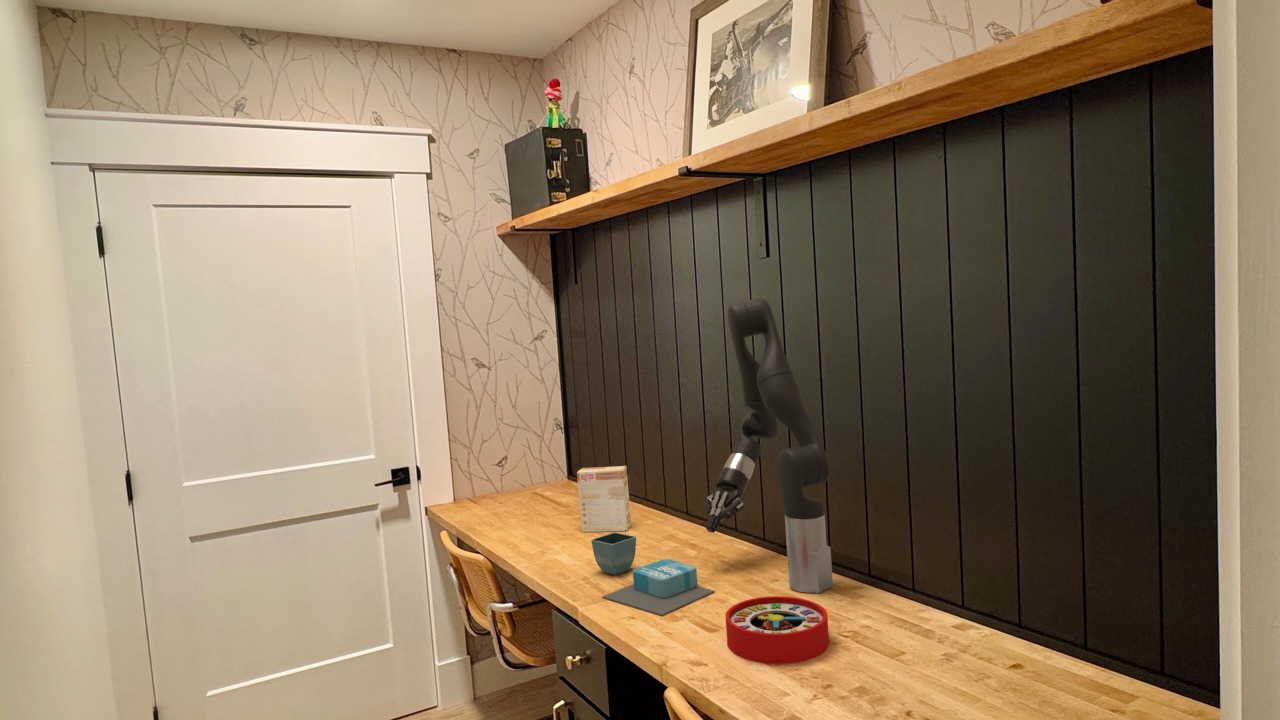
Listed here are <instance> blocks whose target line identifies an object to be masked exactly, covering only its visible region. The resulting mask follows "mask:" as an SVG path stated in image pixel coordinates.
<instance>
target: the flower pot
mask: <svg viewBox="0 0 1280 720" xmlns="http://www.w3.org/2000/svg"><path fill="white" fill-rule="evenodd" d="M590 541H591V546H592V552H593V556H594V559H595V562H596V564H597V565H598V567H599V569H600V570H601V571H602V572H603V573H606V574H607V573H608V574H610V575H615V576H617V575H620V574H622V573H624V572H625V573H626V572H627V571H630V568H631V567H632V566H633V563H634V560H635V557H636V550H637V549H636V548H637V536H635V535H630V534H623V533H620V532H616V531H613V532H610V533H608V534H605V535H602V536H598V537H595V538H593V539H592V538H591V540H590Z"/></svg>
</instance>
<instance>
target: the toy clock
mask: <svg viewBox="0 0 1280 720" xmlns="http://www.w3.org/2000/svg"><path fill="white" fill-rule="evenodd" d="M725 625H726V626H725V631H726V641H727V642H726V644H727V647H728V650H729V651H730V652H731V653H732V654H733V655H735V656H737V657H738V658H741V659H744V660H746V661H750V662H754V663H758V664H759V663H760V664H767V665H768V664H769V665H788V664H796V663H802V662H806V661H809V660H812V659H815V658H818V657H820V656H821V655H823V654H824V653H825V652H826V651H827V650H828V648H829V646H830V637H829V635H830V634H829V633H830V632H829V617H828V612H827V610H826V609H825V608H824V607H823V606H822V605H821V604H819V603H817V602H815V601H812V600H809V599H804V598H800V597H795V596H782V595H781V596H779V595H774V596H773V595H772V596H771V595H770V596H761V597H760V596H759V597H753V598H749V599H745V600H743V601H740V602H737V603H735V604H734V605H732V606H731V607H729V608H728V609H727V611H726V613H725Z"/></svg>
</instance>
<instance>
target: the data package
mask: <svg viewBox="0 0 1280 720" xmlns="http://www.w3.org/2000/svg"><path fill="white" fill-rule="evenodd" d="M632 580H633V581H632V582H633V584H634V589H636V590H639V591H642V592H645V593H648V594H650V595H653V596H656V597H659V598H667V597H670V596H673V595H675V594H678V593H681V592H683V591H686V590H689V589H691V588H694V587H696V586H698V571H697V566H694V565H691V564H688V563H684V562H682V561H677V560H674V559H669V558H665V559H660V560H658V561H655V562H652V563H648V564H645V565H643V566H640V567H639V566H638V567H636V568H634V569H632Z"/></svg>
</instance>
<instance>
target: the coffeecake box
mask: <svg viewBox="0 0 1280 720" xmlns="http://www.w3.org/2000/svg"><path fill="white" fill-rule="evenodd" d="M627 468H628V467H627V465H621V466H620V465H619V466H598V467H596V466H595V467H581V468H580V469H579V470H578V471H577V472H576V480H577V492H578V504H579V505H578V506H579V513H580V514H579V517H580V527H581V533H592V532H593V533H598V532H599V533H601V532H604V533H605V532H628V530H629V529H630V528H629V527H631V526H632V520H631V517H632V516H631V507H630V493H629V491H630V490H629V480H628V469H627ZM625 530H626V531H625Z"/></svg>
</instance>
